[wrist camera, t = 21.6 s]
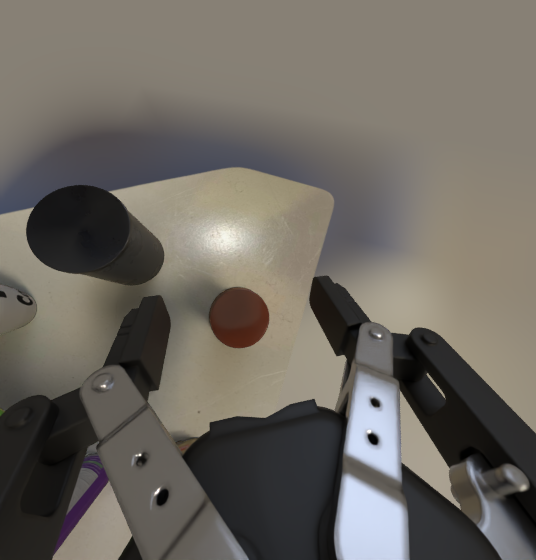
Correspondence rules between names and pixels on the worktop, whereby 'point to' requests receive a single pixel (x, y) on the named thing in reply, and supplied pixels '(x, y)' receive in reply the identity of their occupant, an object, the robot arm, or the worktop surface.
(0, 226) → the worktop surface
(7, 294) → the cup
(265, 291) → the worktop surface
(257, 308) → the canister
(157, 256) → the tin
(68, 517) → the container
